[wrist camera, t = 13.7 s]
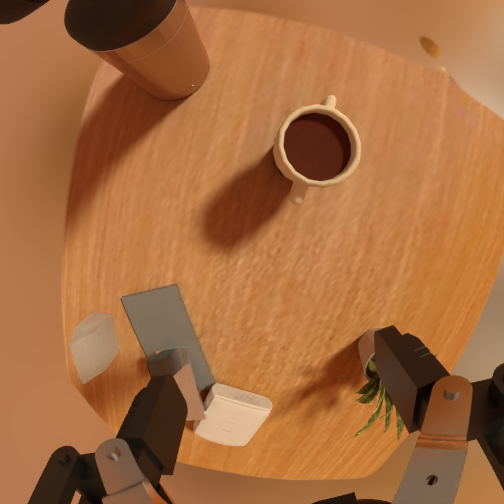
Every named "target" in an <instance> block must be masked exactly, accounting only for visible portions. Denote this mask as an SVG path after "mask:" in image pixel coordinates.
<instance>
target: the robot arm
mask: <svg viewBox="0 0 504 504" xmlns="http://www.w3.org/2000/svg"><path fill="white" fill-rule="evenodd" d="M48 1H49V0H0V24H10V23H13V22H16V21H18V20H20V19H22V18H24V17H26V16H27V15H29V14H30V13H32V12H34V11H35V10H37V9H38V8H39V7H41V6H42V5H44V4H45V3H47V2H48ZM64 22H65V27H66V30H67V32H68V33H69V35H70V36H71V37H72V38H73V39H74V40H76V41H77V42H78V43H80V44H81V45H83V46H84V47H86V48H87V49H89V50H90V51H92V52H93V53H95V54H96V55H98V56H99V57H100V58H102V59H103V60H105V61H106V62H108V63H109V64H110V65H112V66H113V67H115V68H116V69H117V70H119V71H120V72H122V73H123V74H124V75H126V76H127V77H128V78H130V79H131V80H133V81H134V82H135V83H137V84H138V85H139V86H140V87H142V88H143V89H144V90H146V91H147V92H148V93H150V94H151V95H153V96H154V97H156V98H159V99H162V100H177V99H181V98H184V97H186V96H188V95H190V94H192V93H193V92H195V91H196V90H197V89H198V88H199V87H200V86H201V85H202V84H203V82H204V81H205V79H206V77H207V75H208V72H209V59H208V55H207V53H206V50H205V48H204V45H203V42H202V40H201V38H200V35H199V33H198V30H197V28H196V25H195V23H194V21H193V18H192V16H191V14H190V11H189V9H188V6H187V4H186V2H185V0H69V2H68V5H67V7H66V10H65V19H64ZM374 348H375V366H376V371H377V374H378V376H379V378H380V380H381V382H382V383H383V385H384V387H385V389H386V391H387V392H388V394H389V396H390V398H391V400H392V402H393V404H394V405H395V407H396V409H397V411H398V413H399V415H400V417H401V419H402V421H403V422H404V424H405V426H406V428H407V430H408V432H409V434H410V433H412V432H415V431H417V430H419V431H420V435H419V437H418V440H417V442H416V445H415V448H414V451H413V453H412V456H411V459H410V461H409V464H408V466H407V469H406V471H405V474H404V477H403V479H402V481H401V483H400V486H399V488H398V490H397V492H396V494H395V497H394V499H393V501H392V503H390V502H387V501H382V500H375V499H358V500H356V496H355V493H354V492H353V493H350V494H346V495H342V496H338V497H335V498H330V499H325V500H321V501H318V502H315V503H312V504H453V503H454V500H455V497H456V494H457V490H458V487H459V483H460V480H461V476H462V472H463V468H464V464H465V459H466V455H467V450H468V441H471V440H475V439H477V441H478V442H479V444H480V446H481V448H482V450H483V451H484V453H485V455H486V457H487V459H488V460H489V462H490V464H491V466H492V468H493V470H494V472H495V474H496V476H497V478H498V480H499V482H500V484H501V486H502V488H503V490H504V363H503V364H501V365H499V366H498V367H497V368H496V369H495V371H494V373H493V376H492V378H490V379H486V380H482V381H478V382H473V383H470V382H469V381H468V380H467V379H466V378H464V377H461V376H456V375H450V374H449V373H448V372H447V370H446V369H445V368H444V367H443V366H442V364H441V363H440V362H439V361H438V360H437V359H436V358H435V356H434V355H433V354H432V353H431V352H430V351H429V349H428V348H427V347H425V345H424V344H423V343H422V342H421V340H420V339H419V338H417V337H415V336H413V335H411V334H409V333H407V334H404V335H401V333H400V332H399V331H398V330H397V329H396V327H395V326H393V325H391V326H388V327H385V328H382V329H379V330H376V331H375V332H374ZM131 405H132V406H130V409H129V411H128V414H127V415H126V417H125V419H124V421H123V423H122V426H121V428H120V430H119V432H118V434H117V436H116V438H113V439H109V440H107V441H105V442H103V443H102V444H101V445H100V446H99V447H98V448H97V450H96V452H95V453H89V454H82V455H80V454H79V453H78V452H77V450H76V449H75V448H73V447H71V446H63V447H61V448H58V449H57V450H56V451H55V452H54V453H53V454H52V455H51V457H50V459H49V461H48V463H47V465H46V467H45V469H44V471H43V473H42V475H41V477H40V479H39V481H38V483H37V485H36V487H35V489H34V491H33V493H32V496H31V498H30V500H29V502H28V504H71V501H72V499H73V496H74V493H75V491H77V492H79V493H80V494H81V498H80V501H79V503H78V504H175V503H174V501H173V499H172V498H171V496H170V495H169V493H168V492H167V490H166V489H165V487H164V485H163V484H162V483H161V482H160V478H161V475H173V471H174V466H175V463H176V459H177V454H178V450H179V446H180V442H181V438H182V434H183V430H184V426H185V422H186V418H187V414H188V408H187V403H186V400H185V398H184V396H183V394H182V392H181V391H180V389H179V387H178V385H177V383H176V381H175V379H174V377H173V375H172V374H161V375H153V376H152V377H151V379H150V381H149V383H148V385H147V387H146V388H143V389H142V390H141V391H140V392H139V393H138V394H137V395H136V396H135V398H134V400H133V402H132V404H131Z"/></svg>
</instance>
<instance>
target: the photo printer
mask: <svg viewBox="0 0 504 504" xmlns="http://www.w3.org/2000/svg"><path fill="white" fill-rule="evenodd" d="M203 405H204V408H205V412H206V415H207V419H205V420H194V423H193V428H194V429H193V433H195V434H196V435H198V436H199V437H201V438H204V439H206V440H209V441H212V442H215V443H219V444H223V445H230V446H245V445H246V444H247V443H248V441H249V440H250V439H251V438H252V436H253V435H254V434H255V433H256V431H257V430H258V429H259V427H260V426H261V425H262V423H263V422H264V421H265V419H266V418H267V417H268V415H269V413H270V411H271V409H272V403H271V401H270V400H269V399H268V398H267V397H264V396H261V395H258V394H255V393H251V392H247V391H244V390H240V389H237V388H234V387H230V386H227V385H223V384H219V383H215V384H214V385H213V386H212V388H211V389H210V391H209V393H208V395H207V397H206V399H205V401H204V403H203Z"/></svg>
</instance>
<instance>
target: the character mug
mask: <svg viewBox="0 0 504 504" xmlns="http://www.w3.org/2000/svg"><path fill="white" fill-rule="evenodd" d="M335 105H336V98H335V97H334V96H333V95H328V96H327V97H326V98H325V99H324V100H323V101H322V102H321V104H320V105H319V104H315V105H310V106H304V107H301V108H299V109H298V110H296V111H295V112H293V113H292V114H290V115H289V116H287V118H286V119H285V121H284V123H283V124H282V126H281V127H280V129H279V131H278V133H277V135H276V137H275V140H274V147H273V159H274V165H275V166H276V168H277V169H278V171H279V172H280V174H281V175H283V176H284V177H286V178H288V179H289V180H291V181H293V185H292V188H291V191H290V194H289V200H290V201H291V202H292V203H293V204H295V205H299V204H301V202H302V201H303V199H304V197H305V194H306V191H307V188H308V186H311V187H320V188H323V187H328V186H332V185H336V184H339V183H340V182H342V181H343V180H345V179H346V178H348V177H349V176H351V174H352V173H353V172H354V170H355V169H356V168H357V165H358V163H359V161H360V156H361V142H360V139H359V136H358V133H357V130H356V128H355V127H354V126H353V124H352V123H351V122H350V120H349V119H348V118H347V117H346V116H345V115H344V114H342V113H341V112H339V111H338V110H336V109H335Z"/></svg>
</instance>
